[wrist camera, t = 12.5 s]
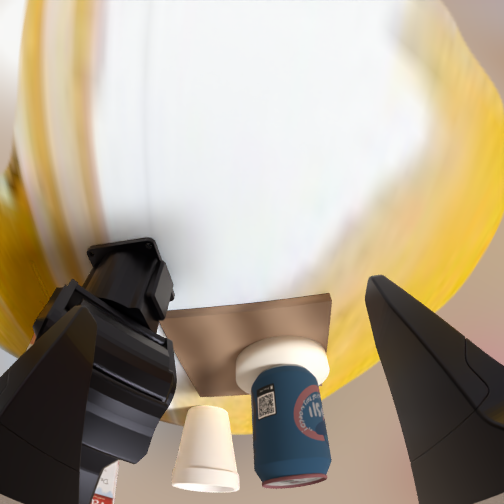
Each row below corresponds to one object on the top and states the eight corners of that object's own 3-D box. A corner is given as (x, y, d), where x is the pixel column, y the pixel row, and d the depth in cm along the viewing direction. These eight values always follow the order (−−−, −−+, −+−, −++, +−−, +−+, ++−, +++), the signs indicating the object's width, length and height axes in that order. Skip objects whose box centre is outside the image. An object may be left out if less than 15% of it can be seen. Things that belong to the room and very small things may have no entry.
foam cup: (177, 397, 38) (169, 480, 27) (241, 403, 39) (243, 485, 28) (179, 420, 43) (174, 488, 32) (233, 425, 44) (234, 493, 33)
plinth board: (200, 390, 36) (199, 409, 34) (159, 311, 27) (153, 335, 24) (320, 379, 35) (324, 398, 33) (329, 293, 26) (337, 317, 24)
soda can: (327, 375, 29) (346, 476, 20) (276, 397, 32) (285, 490, 22) (291, 351, 26) (308, 473, 17) (236, 377, 29) (238, 486, 19)
